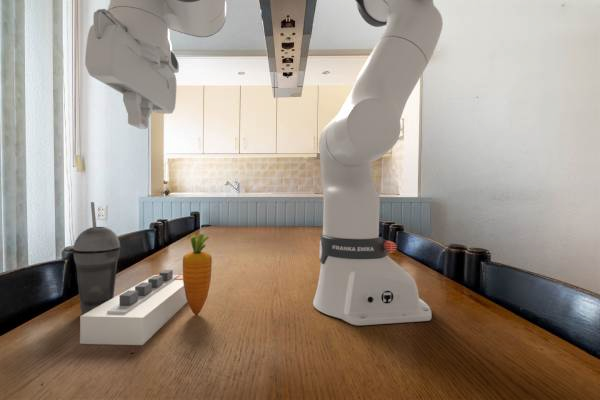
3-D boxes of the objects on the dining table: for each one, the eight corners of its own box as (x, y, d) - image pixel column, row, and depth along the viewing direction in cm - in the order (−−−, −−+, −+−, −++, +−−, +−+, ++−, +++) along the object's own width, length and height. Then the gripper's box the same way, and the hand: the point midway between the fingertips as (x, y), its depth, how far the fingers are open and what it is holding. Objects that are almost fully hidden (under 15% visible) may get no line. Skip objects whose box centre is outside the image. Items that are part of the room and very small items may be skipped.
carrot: (182, 311, 56) (184, 230, 55) (210, 308, 57) (212, 230, 57) (180, 322, 51) (182, 234, 51) (211, 319, 52) (212, 233, 52)
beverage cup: (96, 323, 50) (97, 203, 49) (60, 318, 51) (61, 202, 51) (129, 307, 57) (130, 202, 57) (97, 303, 58) (98, 201, 58)
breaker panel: (195, 294, 65) (195, 266, 65) (142, 345, 43) (143, 303, 43) (154, 293, 65) (154, 265, 65) (80, 343, 43) (80, 302, 43)
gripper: (120, 0, 38) (119, 109, 39) (182, 68, 59) (181, 138, 59) (71, -1, 38) (70, 108, 39) (150, 67, 59) (149, 137, 59)
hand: (138, 126), depth 49 cm, fingers closed
